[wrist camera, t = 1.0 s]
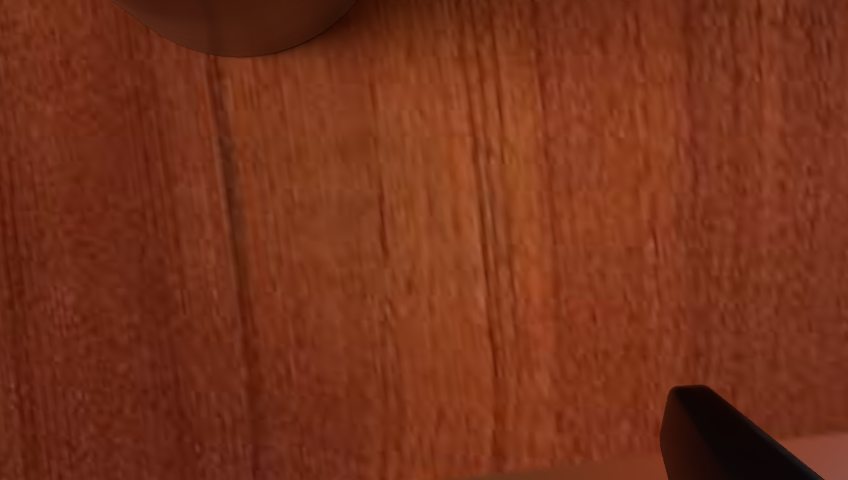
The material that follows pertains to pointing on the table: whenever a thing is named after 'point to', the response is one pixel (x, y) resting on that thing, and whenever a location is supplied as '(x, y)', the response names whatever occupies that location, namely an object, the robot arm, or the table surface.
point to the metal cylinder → (237, 23)
